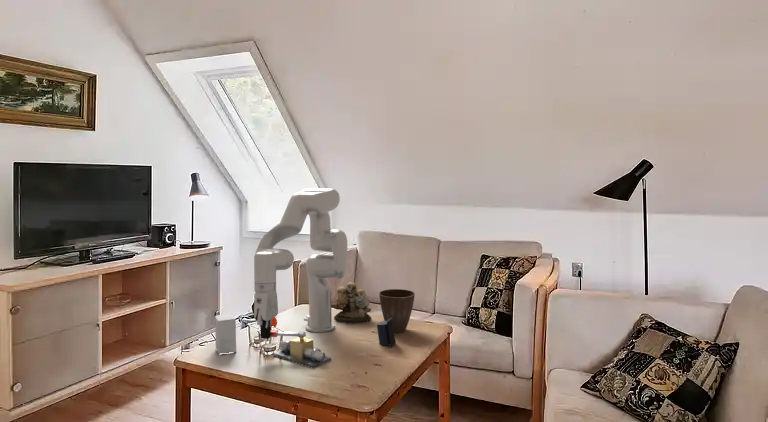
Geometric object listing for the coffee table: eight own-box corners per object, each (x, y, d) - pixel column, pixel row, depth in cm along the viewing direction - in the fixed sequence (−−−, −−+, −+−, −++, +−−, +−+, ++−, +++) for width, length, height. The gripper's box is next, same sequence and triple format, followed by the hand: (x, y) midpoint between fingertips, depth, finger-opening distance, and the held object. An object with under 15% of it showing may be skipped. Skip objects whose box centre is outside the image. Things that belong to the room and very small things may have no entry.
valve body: (273, 355, 192) (273, 334, 192) (292, 349, 199) (291, 328, 199) (313, 368, 180) (312, 345, 179) (331, 360, 187) (330, 338, 187)
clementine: (271, 326, 228) (270, 310, 228) (282, 329, 224) (282, 313, 224) (256, 331, 222) (256, 314, 221) (268, 334, 218) (268, 317, 217)
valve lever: (265, 334, 192) (265, 329, 192) (306, 335, 190) (306, 330, 190) (262, 336, 189) (262, 331, 189) (304, 338, 188) (304, 333, 187)
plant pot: (414, 325, 229) (414, 289, 228) (415, 336, 214) (415, 297, 213) (379, 325, 230) (379, 288, 229) (378, 335, 215) (378, 297, 214)
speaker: (400, 343, 204) (397, 317, 204) (391, 348, 200) (388, 321, 200) (385, 341, 209) (382, 315, 209) (376, 346, 205) (373, 319, 204)
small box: (236, 353, 195) (235, 318, 194) (218, 356, 192) (217, 321, 191) (232, 346, 202) (231, 313, 201) (215, 349, 199) (214, 315, 198)
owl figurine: (330, 323, 233) (329, 285, 232) (333, 316, 245) (333, 279, 244) (370, 323, 232) (370, 285, 231) (372, 316, 244) (372, 279, 243)
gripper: (265, 291, 178) (265, 345, 179) (284, 283, 193) (284, 332, 194) (245, 290, 180) (245, 343, 181) (265, 282, 195) (265, 331, 196)
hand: (265, 337), depth 187 cm, fingers closed
